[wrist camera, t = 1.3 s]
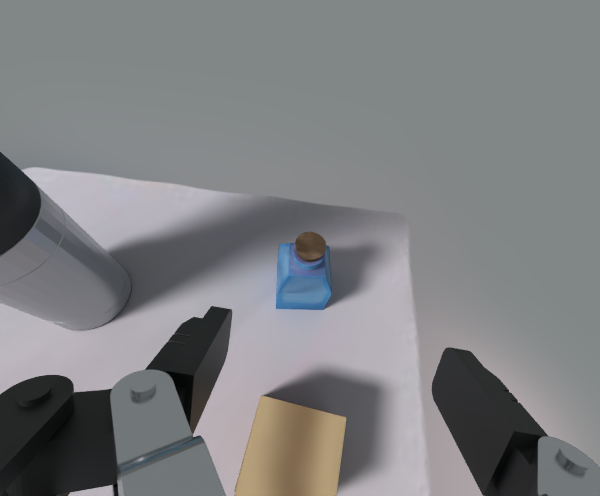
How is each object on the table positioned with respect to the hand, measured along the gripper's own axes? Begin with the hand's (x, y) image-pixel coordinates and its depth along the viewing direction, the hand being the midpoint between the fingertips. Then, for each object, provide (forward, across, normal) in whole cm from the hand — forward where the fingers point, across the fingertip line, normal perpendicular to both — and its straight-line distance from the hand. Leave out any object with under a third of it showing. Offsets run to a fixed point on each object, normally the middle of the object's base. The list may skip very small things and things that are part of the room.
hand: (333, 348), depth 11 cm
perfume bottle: (+28, +1, +10) cm, 30 cm away
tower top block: (+12, -1, +20) cm, 24 cm away
